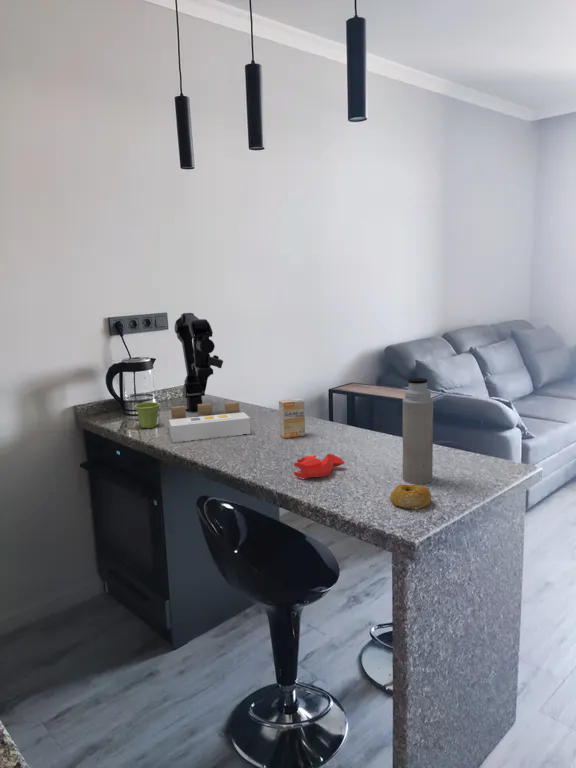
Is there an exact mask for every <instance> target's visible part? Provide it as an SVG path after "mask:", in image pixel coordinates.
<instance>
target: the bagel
mask: <svg viewBox="0 0 576 768" xmlns="http://www.w3.org/2000/svg"><path fill="white" fill-rule="evenodd" d="M389 498H390V502H391V504H393V505H394V506H395V505H396V506H395V507H398V506H399V507H398V508H402V507H404V508H403V509H407V508H414V509H413V510H416V509H415V508H421V509H424V508H426V507H428V506H429V505H430V503H431V501H432V494H431V492H430V489H429V488H428V487H427V486H425V485H420V484H398V485H397V486H396V487H395V488H394V489H393V490H392V492H391V494H390V497H389ZM427 505H428V506H427ZM425 506H426V507H425ZM423 507H424V508H423Z"/></svg>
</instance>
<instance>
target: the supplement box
mask: <svg viewBox="0 0 576 768" xmlns="http://www.w3.org/2000/svg"><path fill="white" fill-rule="evenodd" d="M305 408H306V407H305V399H303V398H300V397H299V398H292V399H291V398H290V399H279V400H278V416H279V419H278V420H279V421H278V422H279V423H278V424H279V435H280V437H282V438H283V439H289V438H291V437H292V438H298V437H305V436H306V416H305V415H306V412H305V410H306V409H305Z"/></svg>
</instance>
